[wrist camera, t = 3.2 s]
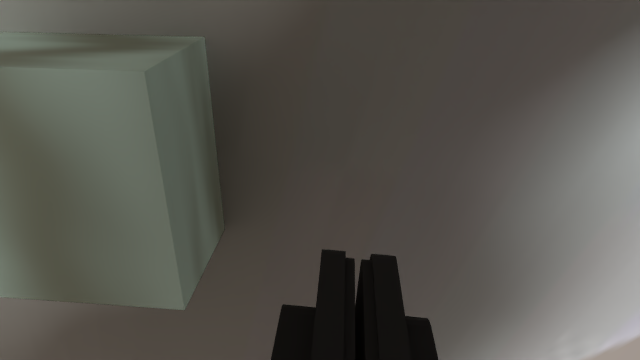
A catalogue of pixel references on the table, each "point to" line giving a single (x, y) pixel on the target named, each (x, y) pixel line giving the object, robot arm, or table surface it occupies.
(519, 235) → the table surface
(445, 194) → the table surface
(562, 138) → the table surface
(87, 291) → the sage block
